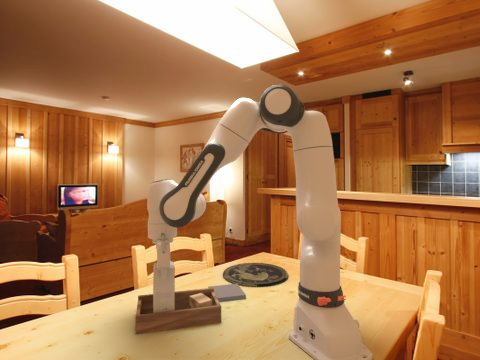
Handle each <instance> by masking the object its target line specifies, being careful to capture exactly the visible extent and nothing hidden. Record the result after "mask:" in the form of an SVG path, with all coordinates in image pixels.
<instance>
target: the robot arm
mask: <svg viewBox="0 0 480 360" xmlns="http://www.w3.org/2000/svg"><path fill="white" fill-rule="evenodd" d="M305 106H306V105H304V103H303V102H302V100H301V99H300V98H299V96H298V95H297V94H296V92H295V91H294V90H293V89H292V88H290V87H289V86H287V85H284V84H274V85H271V86H269V87H268V88H266V89H265V90H264V92H263V93H262V94H261V96H260V99H259V102H258V101H255V100H253V99H251V98H247V97H240V98H238V99H236V100H235V101H234V102H233V103H232V104H231V105H230V107H229V108H228V109H227V110H226V112H225V113H224V114H223V116H222V117H221V119H220V120H219V122H218V124H217V125H216V126H215V128H214V129H213V131H212V133H211V135H210V136H209V138H208V140H207V143H206V144H205V145H204V147H203V149H202V151H201V152H200V153H199V155H198V156H197V158H196V159H195V160H194V161H193V163H192V165H191V167H189V169H188V170H187V172H186V174H185V175H184V176H183V178H182V179H181V181H180V182H179V183H177V182H176V181H175V180H173V179H172V178H167V179H158V180H155V181H153V182H152V183H150V184H149V186H148V191H147V199H146V200H147V201H146V202H147V204H146V205H147V206H146V207H147V212H148V220H147V238H148V239H150V240H152V241H151V243H152V244H154V245H155V248H156V249H155V250H156V263H157V268H158V269H160V273H161V281H166V280H167V271H168V269H169V268H170V266H171V262H172V261H171V244H172V243H173V242H174V238H176V237H177V236H178V228H183V227H186V226H187V225H188V224H189V223H191V222H194V221H195V220H198V219H199V218H200V217H202V216H203V214H205V212H206V211H207V206H208V205H207V198H206V197H205V195H204V194H203V193H202V192H203V191H204V189H205V188H206V187H207V185H208V184H209V182H210V180H211V179H212V178H213V176H214V175H215V174H216V173H217V172H218V171H219V170H220V169H221V168H223V167H225V166H226V165H229V164H231V163H233V162H235V161H237V159H238V158H239V157H240V156H241V155H242V154H243V153H244V152H245V150H246V149H247V147H248V146H249V144H250V143H251V141H252V140H253V138H254V137H255V135H256V133H257V132H258V131H260V130H263V131H265V132H270V133H273V134H281V135H282V134H285V133H289V135H290V138H291V143H292V150H293V160H294V161H293V162H294V163H293V164H294V171H295V206H296V207H295V209H296V210H295V211H296V225H297V228H298V230H299V232H300V233H301V236H302V237H301V246H300V254H299V282H298V286H297V293H298V294H297V295H298V301H297V302H296V304H295V306H294V308H293V309H294V310H293V319H292V324H293V325H292V330H291V331H290V332H289V333H288V339H289V340H290V341H292V342H293V344H295V345H296V346H298V347H299V348H300V349H301V350H302V351H304V352H305V353H306V354H308V355H309V357H311V358H312V359H314V360H373V359H374V356H373V355H374V354H373V352H372V351H370V349H369V348H368V347H367V346H366V345H365V344H364V342H363V338H362V333H361V329H360V322H359V320H357V319H354V318H353V316H352V314H351V313H350V311H349V309H348V307H347V306H346V304H345V301H346V300H347V298H346V297H347V296H346V295H344V292H343V289H342V286H341V229H342V228H341V225H342V223H341V222H342V212H341V209H340V207H339V201H338V191H337V189H338V186H337V177H336V167H335V166H336V165H335V155H334V147H333V139H332V134H331V130H330V126H329V123H328V120H327V116H326V115H325V114H324V113H323V112H321V111H318V110H306V107H305Z"/></svg>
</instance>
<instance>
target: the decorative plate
mask: <svg viewBox="0 0 480 360" xmlns="http://www.w3.org/2000/svg"><path fill="white" fill-rule="evenodd" d="M222 278H223V280H225V282H228V283H229V284H238V285H239V286H240V287H246V288H271V287H274V286H279V285H281V284H283V283H285V282H286V281H288V279H289V273H288V271H287V269H285V268H283V267H281V266H279V265H275V264H270V263H264V262H246V263H245V262H244V263H237V264H234V265H231V266H229V267H227V268H225V269H224V270H223V272H222Z"/></svg>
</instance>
